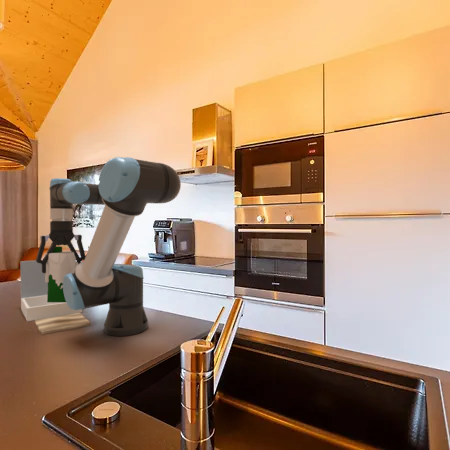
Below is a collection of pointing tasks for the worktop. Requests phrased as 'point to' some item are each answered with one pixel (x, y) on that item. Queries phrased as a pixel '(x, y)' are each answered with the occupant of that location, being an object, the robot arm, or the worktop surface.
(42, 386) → the worktop surface
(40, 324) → the wooden mat
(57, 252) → the soya milk
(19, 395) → the worktop surface
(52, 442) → the worktop surface
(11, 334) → the worktop surface
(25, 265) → the equipment case
